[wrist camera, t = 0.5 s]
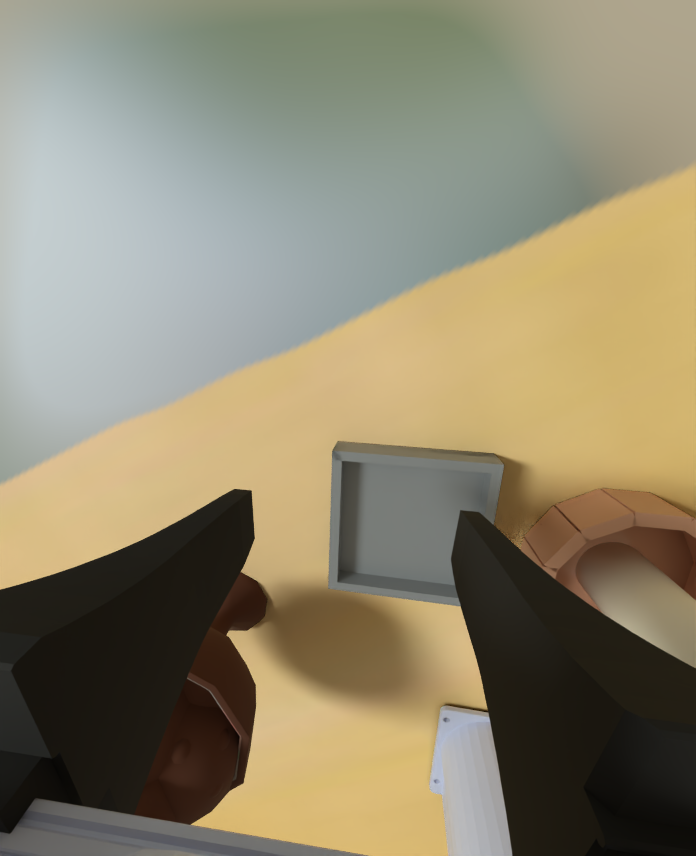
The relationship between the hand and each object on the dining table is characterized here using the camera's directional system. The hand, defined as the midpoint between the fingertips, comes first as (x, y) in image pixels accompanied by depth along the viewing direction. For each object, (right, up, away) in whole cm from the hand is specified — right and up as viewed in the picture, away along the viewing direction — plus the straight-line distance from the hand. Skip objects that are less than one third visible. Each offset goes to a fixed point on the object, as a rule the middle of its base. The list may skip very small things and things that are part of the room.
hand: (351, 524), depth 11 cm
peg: (+17, -6, +10) cm, 20 cm away
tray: (+4, -3, +11) cm, 12 cm away
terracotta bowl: (+17, -6, +10) cm, 20 cm away
